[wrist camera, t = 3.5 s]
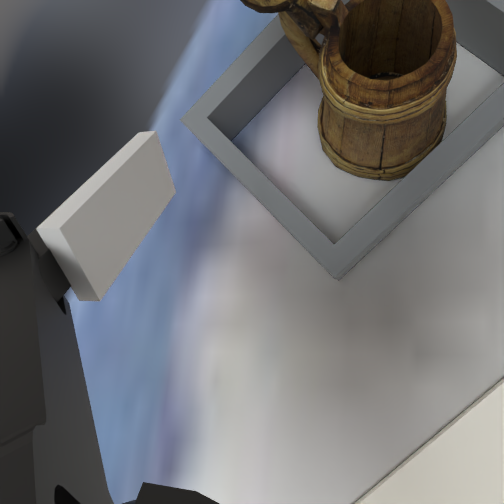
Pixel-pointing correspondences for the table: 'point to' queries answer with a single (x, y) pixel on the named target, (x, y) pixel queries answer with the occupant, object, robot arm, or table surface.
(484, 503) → the cream board
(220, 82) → the hollow square frame
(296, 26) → the wooden mug
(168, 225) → the table surface
